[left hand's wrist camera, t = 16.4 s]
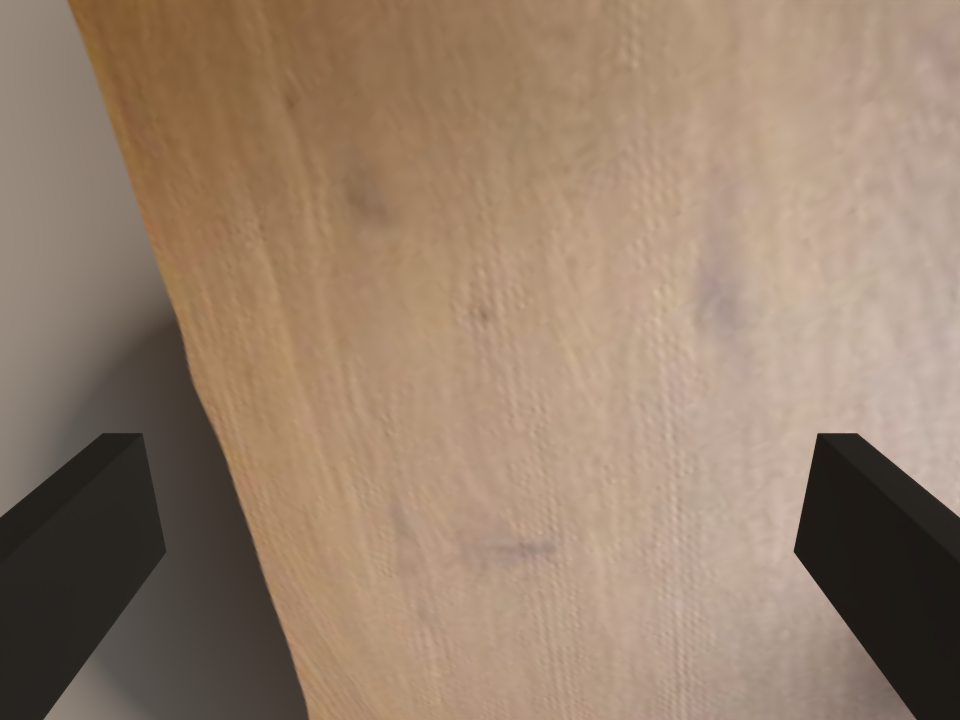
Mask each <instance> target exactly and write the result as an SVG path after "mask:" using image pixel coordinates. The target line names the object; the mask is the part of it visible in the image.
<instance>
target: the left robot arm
mask: <svg viewBox="0 0 960 720" xmlns="http://www.w3.org/2000/svg"><path fill="white" fill-rule="evenodd" d="M165 553H166V548H165V543H164V538H163V533H162V528H161V523H160V518H159V513H158V508H157V503H156V498H155V494H154V489H153V484H152V479H151V474H150V469H149V464H148V459H147V454H146V449H145V444H144V439H143V434H142V433H103V434H102V435H100V436H99V437H98V438H97V439H95V440H94V441H93V442H92V443H91V444H89V445H88V446H87V447H86V448H84V449H83V450H82V451H81V452H80V453H78V454H77V455H76V456H75V457H74V458H72V459H71V460H70V461H69V462H67V463H66V464H65V465H64V466H63V467H61V468H60V469H59V470H58V471H56V472H55V473H54V474H53V475H52V476H50V477H49V478H48V479H47V480H46V481H44V482H43V483H42V484H41V485H39V486H38V487H37V488H36V489H35V490H33V491H32V492H31V493H30V494H28V495H27V496H26V497H25V498H24V499H22V500H21V501H20V502H19V503H18V504H16V505H15V506H14V507H13V508H11V509H10V510H9V511H8V512H7V513H5V514H4V515H3V516H2V517H0V720H43V719H44V718H45V717H46V715H47V714H48V713H49V711H50V710H51V709H52V707H53V706H54V704H55V703H56V702H57V700H58V699H59V698H60V696H61V695H62V694H63V692H64V691H65V689H66V688H67V687H68V685H69V684H70V683H71V681H72V680H73V678H74V677H75V676H76V674H77V673H78V672H79V670H80V669H81V668H82V666H83V665H84V663H85V662H86V661H87V659H88V658H89V657H90V655H91V654H92V653H93V651H94V650H95V648H96V647H97V646H98V644H99V643H100V642H101V640H102V639H103V638H104V636H105V635H106V633H107V632H108V631H109V629H110V628H111V627H112V625H113V624H114V623H115V621H116V620H117V618H118V617H119V616H120V614H121V613H122V612H123V610H124V609H125V607H126V606H127V605H128V603H129V602H130V601H131V599H132V598H133V597H134V595H135V594H136V593H137V591H138V590H139V588H140V587H141V586H142V584H143V583H144V582H145V580H146V579H147V577H148V576H149V575H150V573H151V572H152V571H153V569H154V568H155V567H156V565H157V564H158V562H159V561H160V560H161V558H162V557H163V556H164V554H165ZM794 553H795V554H796V556H797V557H798V558H799V560H800V561H801V562H802V564H803V565H804V567H805V568H806V569H807V571H808V572H809V573H810V575H811V576H812V577H813V579H814V580H815V582H816V583H817V584H818V586H819V587H820V588H821V590H822V591H823V593H824V594H825V595H826V597H827V598H828V599H829V601H830V602H831V603H832V605H833V606H834V608H835V609H836V610H837V612H838V613H839V614H840V616H841V617H842V618H843V620H844V621H845V623H846V624H847V625H848V627H849V628H850V629H851V631H852V632H853V633H854V635H855V636H856V638H857V639H858V640H859V642H860V643H861V644H862V646H863V647H864V648H865V650H866V651H867V653H868V654H869V655H870V657H871V658H872V659H873V661H874V662H875V663H876V665H877V666H878V668H879V669H880V670H881V672H882V673H883V674H884V676H885V677H886V678H887V680H888V681H889V683H890V684H891V685H892V687H893V688H894V689H895V691H896V692H897V694H898V695H899V696H900V698H901V699H902V700H903V702H904V703H905V704H906V706H907V707H908V709H909V710H910V711H911V713H912V714H913V715H914V717H915V718H916V719H917V720H960V517H958V516H957V515H956V514H955V513H953V512H952V511H951V510H950V509H949V508H947V507H946V506H945V505H944V504H942V503H941V502H940V501H939V500H938V499H936V498H935V497H934V496H933V495H932V494H930V493H929V492H928V491H927V490H925V489H924V488H923V487H922V486H921V485H919V484H918V483H917V482H916V481H914V480H913V479H912V478H911V477H910V476H908V475H907V474H906V473H905V472H904V471H902V470H901V469H900V468H899V467H897V466H896V465H895V464H894V463H893V462H891V461H890V460H889V459H888V458H886V457H885V456H884V455H883V454H882V453H880V452H879V451H878V450H877V449H876V448H874V447H873V446H872V445H871V444H869V443H868V442H867V441H866V440H865V439H863V438H862V437H861V436H860V435H858V434H857V433H818V434H817V439H816V444H815V449H814V454H813V459H812V464H811V469H810V474H809V479H808V484H807V489H806V493H805V498H804V503H803V508H802V513H801V518H800V523H799V528H798V533H797V538H796V543H795V548H794Z"/></svg>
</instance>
